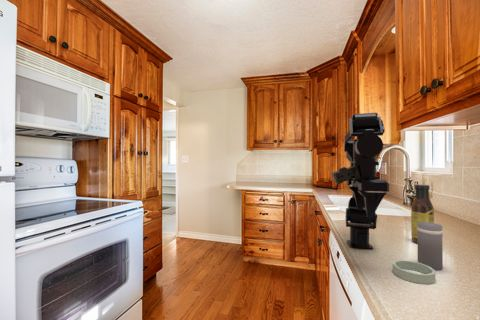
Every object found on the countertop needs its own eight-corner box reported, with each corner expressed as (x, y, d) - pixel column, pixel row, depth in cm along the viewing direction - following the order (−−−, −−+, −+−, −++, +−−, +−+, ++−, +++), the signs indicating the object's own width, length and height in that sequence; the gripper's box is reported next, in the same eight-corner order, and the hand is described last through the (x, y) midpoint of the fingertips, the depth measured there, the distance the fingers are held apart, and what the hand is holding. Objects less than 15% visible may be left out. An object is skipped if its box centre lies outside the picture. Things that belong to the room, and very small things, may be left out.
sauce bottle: (435, 247, 78) (434, 186, 78) (411, 243, 82) (411, 184, 82) (433, 241, 83) (433, 184, 84) (411, 238, 87) (411, 183, 87)
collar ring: (388, 266, 63) (388, 259, 63) (423, 269, 61) (423, 261, 61) (401, 281, 55) (401, 272, 55) (443, 285, 53) (443, 276, 53)
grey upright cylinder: (412, 263, 66) (412, 222, 66) (427, 260, 67) (426, 221, 67) (432, 271, 60) (432, 227, 61) (448, 269, 62) (447, 226, 62)
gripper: (329, 158, 78) (329, 206, 78) (340, 157, 60) (340, 220, 60) (366, 158, 76) (366, 208, 76) (389, 157, 58) (390, 222, 57)
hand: (364, 213), depth 67 cm, fingers open, 9 cm apart
